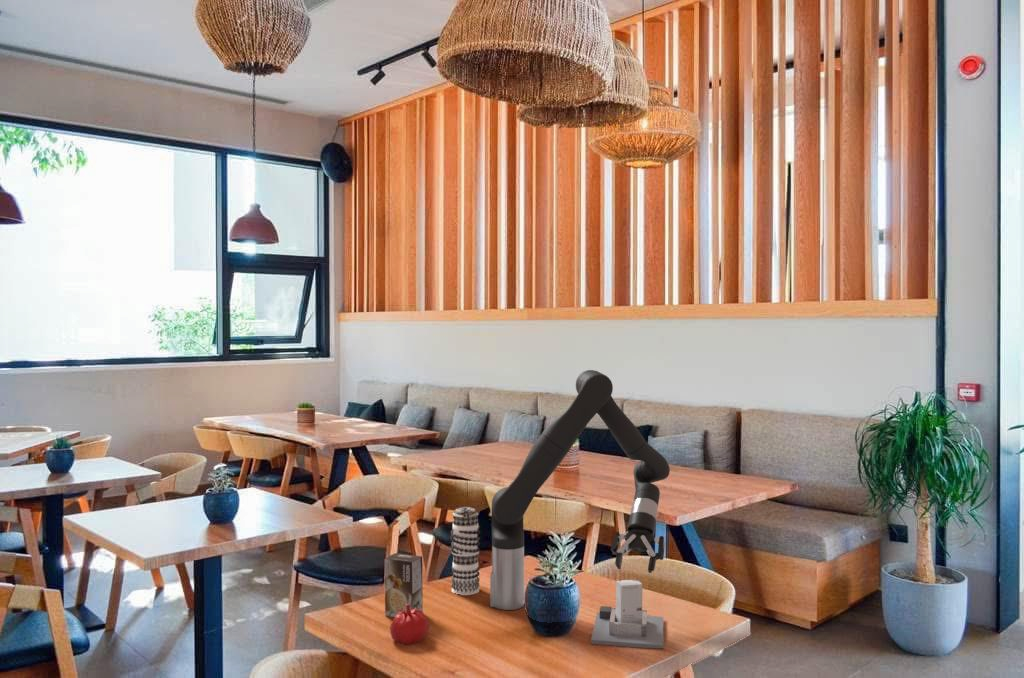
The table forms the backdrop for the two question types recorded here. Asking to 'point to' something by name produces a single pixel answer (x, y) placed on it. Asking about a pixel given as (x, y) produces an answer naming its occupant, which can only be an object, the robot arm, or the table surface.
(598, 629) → the grey holder base
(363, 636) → the table surface
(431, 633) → the table surface
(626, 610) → the skincare box
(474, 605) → the table surface
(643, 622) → the guard collar
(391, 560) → the coffee box
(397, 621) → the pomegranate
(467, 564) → the decorative candle
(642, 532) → the robot arm
